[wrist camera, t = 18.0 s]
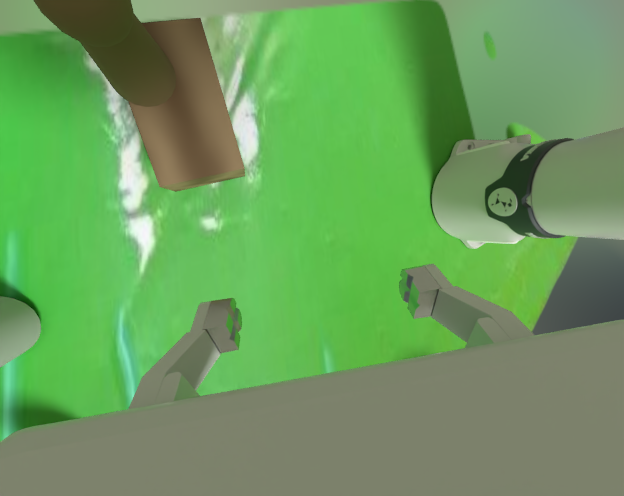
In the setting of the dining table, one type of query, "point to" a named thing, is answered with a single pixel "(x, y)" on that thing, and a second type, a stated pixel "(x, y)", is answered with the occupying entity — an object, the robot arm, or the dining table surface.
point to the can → (16, 328)
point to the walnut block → (189, 114)
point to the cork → (116, 46)
